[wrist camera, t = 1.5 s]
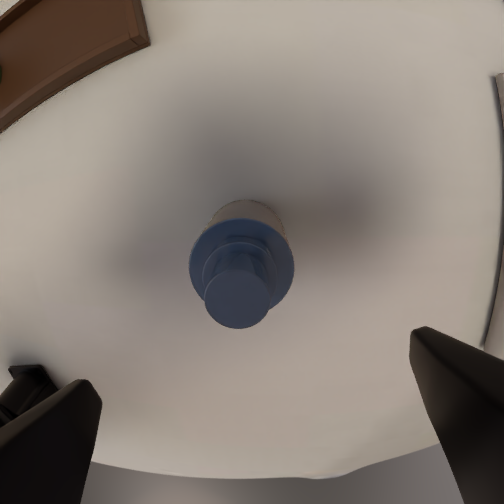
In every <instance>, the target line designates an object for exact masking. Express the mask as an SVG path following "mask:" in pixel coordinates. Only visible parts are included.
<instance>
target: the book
mask: <svg viewBox="0 0 504 504" xmlns="http://www.w3.org/2000/svg"><path fill="white" fill-rule="evenodd" d="M495 78H496V83H497V88H498V93H499V99H500V105H501V112H502V120H503V128H504V73H500V74H497V75H496V76H495ZM484 352H486V353H488V354H490V355H493V356H495V357H497V358H499V359H502V360H504V247H503V256H502V264H501V271H500V277H499V283H498V289H497V294H496V299H495V304H494V309H493V313H492V318H491V322H490V326H489V330H488V334H487V337H486V341H485V345H484Z"/></svg>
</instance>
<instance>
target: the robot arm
mask: <svg viewBox="0 0 504 504" xmlns="http://www.w3.org/2000/svg"><path fill="white" fill-rule="evenodd" d="M409 359H410V364H411V367H412V370H413V373H414V375H415V378H416V381H417V384H418V387H419V390H420V393H421V396H422V399H423V402H424V405H425V408H426V411H427V414H428V416H429V418H430V421H431V423H432V425H433V427H434V429H435V432H436V434H437V436H438V438H439V441H440V443H441V445H442V448H443V450H444V452H445V455H446V457H447V459H448V462H449V464H450V467H451V470H452V472H453V475H454V477H455V480H456V482H457V485H458V488H459V490H460V493H461V496H462V498H463V501H464V504H504V360H502V359H499V358H497V357H495V356H493V355H490V354H488V353H486V352H484V351H481V350H479V349H477V348H475V347H473V346H470V345H468V344H466V343H464V342H461V341H459V340H457V339H455V338H452V337H450V336H448V335H446V334H443V333H441V332H439V331H437V330H434V329H432V328H430V327H427V326H424V327H421V328H418V329H414V330H413V331H412V332H411V335H410V351H409ZM8 371H9V372H10V374H11V376H12V377H13V379H14V380H13V381H12V382H11V383H10V384H9V385H8V387H7V388H6V389H5V390H4V391H3V393H2V394H1V395H0V504H80V502H81V498H82V494H83V489H84V485H85V481H86V477H87V473H88V469H89V465H90V462H91V458H92V454H93V450H94V446H95V441H96V436H97V431H98V425H99V420H100V415H101V410H102V400H101V398H100V396H99V395H98V393H97V392H96V390H95V389H94V387H93V386H92V384H91V383H90V382H89V381H88V380H86V379H77V380H75V381H73V382H71V383H70V384H68V385H67V386H65V387H64V388H62V389H61V390H59V391H58V390H57V388H56V387H55V385H54V384H53V382H52V381H51V379H50V378H49V376H48V375H47V373H46V372H45V370H44V369H43V367H42V366H40V365H29V366H10V367H9V368H8Z"/></svg>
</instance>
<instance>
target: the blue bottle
mask: <svg viewBox="0 0 504 504" xmlns="http://www.w3.org/2000/svg"><path fill="white" fill-rule="evenodd" d="M189 274H190V278H191V282H192V284H193V286H194V288H195V290H196V292H197V293H198V295H199V296H200V297H201V299H202V300H203V301H204V302H205V306H206V309H207V311H208V313H209V314H210V316H211V317H212V318H213V319H214V320H215V321H217V322H218V323H219V324H221V325H223V326H226V327H229V328H234V329H243V328H248V327H251V326H253V325H255V324H257V323H258V322H260V321H261V320H262V319H263V318H264V317H265V316H266V314H267V312H268V310H269V309H271V308H273V307H274V306H275V305H277V304H278V303H279V302H280V301H281V300H282V299H283V298H284V296H285V295H286V294H287V292H288V290H289V289H290V286H291V284H292V281H293V277H294V259H293V255H292V252H291V249H290V246H289V243H288V240H287V237H286V235H285V232H284V229H283V226H282V224H281V221H280V219H279V218H278V216H277V215H276V214H275V213H274V212H273V211H272V210H271V209H270V208H269V207H267V206H266V205H264V204H262V203H259V202H256V201H252V200H238V201H234V202H231V203H229V204H227V205H225V206H223V207H222V208H220V209H219V210H218V211H217V212H216V213H215V215H214V216H213V217H212V219H211V220H210V222H209V223H208V224H207V226H206V227H205V229H204V230H203V232H202V233H201V235H200V236H199V238H198V239H197V241H196V242H195V244H194V246H193V248H192V250H191V254H190V258H189Z"/></svg>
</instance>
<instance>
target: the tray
mask: <svg viewBox="0 0 504 504" xmlns="http://www.w3.org/2000/svg"><path fill="white" fill-rule="evenodd" d="M149 45H150V41H149V36H148V32H147V28H146V24H145V19H144V15H143V10H142V6H141V1H140V0H20V1H18V2H17V3H16V4H15V5H13V6H12V7H11V8H10V9H9V10H7V11H6V12H5V13H4V14H3V15H2V16H0V66H1V70H2V77H1V83H0V133H1V132H2V131H4V130H5V129H6V128H7V127H9V126H10V125H11V124H13V123H14V122H15V121H16V120H18V119H19V118H21V117H22V116H23V115H25V114H26V113H27V112H29V111H30V110H32V109H33V108H34V107H36V106H37V105H39V104H40V103H42V102H43V101H45V100H46V99H48V98H49V97H51V96H52V95H54V94H56V93H57V92H59V91H60V90H62V89H64V88H65V87H67V86H69V85H70V84H72V83H74V82H76V81H77V80H79V79H81V78H83V77H84V76H86V75H88V74H90V73H92V72H94V71H96V70H97V69H99V68H101V67H103V66H105V65H107V64H109V63H111V62H113V61H115V60H118V59H120V58H122V57H124V56H126V55H128V54H131V53H133V52H135V51H137V50H140V49H142V48H145V47H147V46H149Z"/></svg>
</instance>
